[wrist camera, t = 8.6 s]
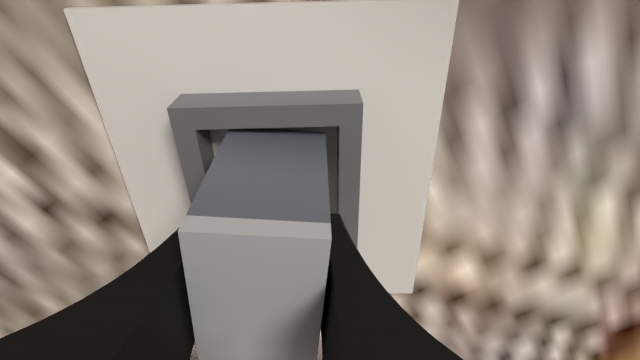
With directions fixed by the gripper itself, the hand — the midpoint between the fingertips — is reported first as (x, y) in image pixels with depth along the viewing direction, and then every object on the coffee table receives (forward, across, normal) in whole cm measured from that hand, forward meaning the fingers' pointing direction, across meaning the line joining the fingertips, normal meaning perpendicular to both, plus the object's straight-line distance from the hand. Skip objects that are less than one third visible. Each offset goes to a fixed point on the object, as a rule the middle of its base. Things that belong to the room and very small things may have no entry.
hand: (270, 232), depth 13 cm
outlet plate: (+4, 0, 0) cm, 4 cm away
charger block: (+2, 0, 0) cm, 2 cm away
